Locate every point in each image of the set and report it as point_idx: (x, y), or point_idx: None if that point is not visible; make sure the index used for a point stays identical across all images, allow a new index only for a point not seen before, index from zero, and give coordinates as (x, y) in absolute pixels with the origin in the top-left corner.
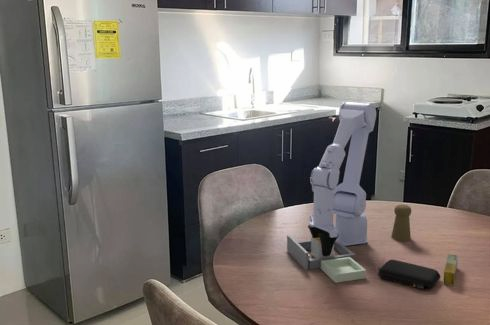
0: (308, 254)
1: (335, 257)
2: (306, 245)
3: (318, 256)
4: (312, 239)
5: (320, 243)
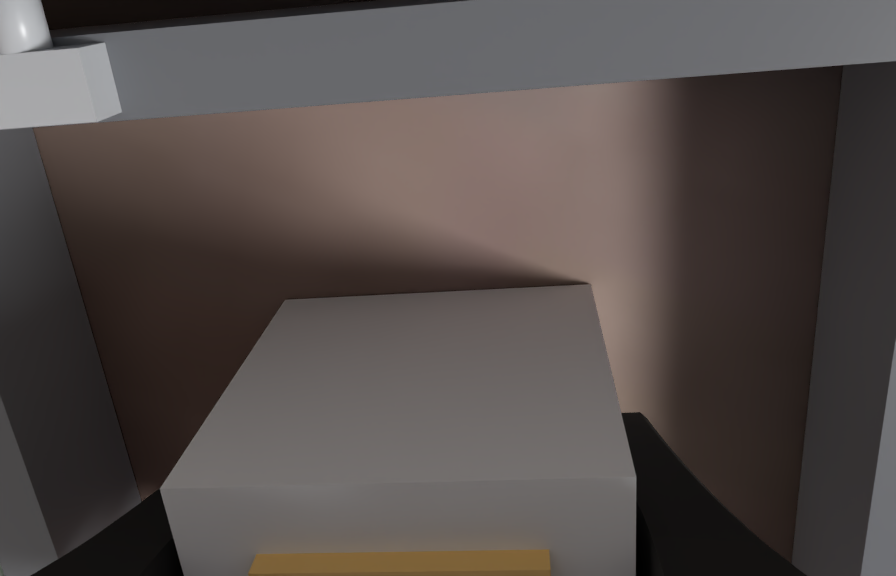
0: (17, 113)
1: (4, 564)
2: (855, 311)
3: (265, 342)
4: (551, 477)
5: (229, 555)
